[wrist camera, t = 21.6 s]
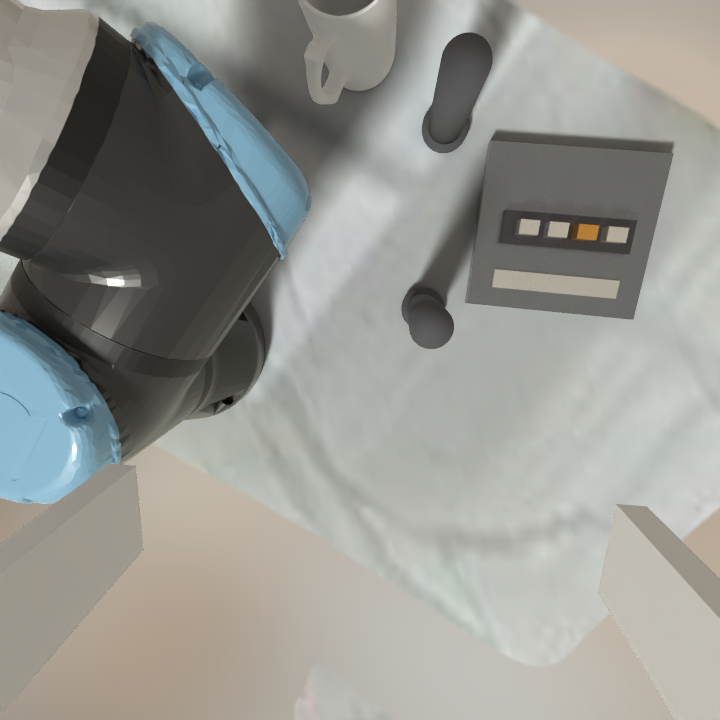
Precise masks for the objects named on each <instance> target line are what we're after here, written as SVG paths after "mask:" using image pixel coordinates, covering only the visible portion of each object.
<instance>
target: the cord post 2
mask: <svg viewBox="0 0 720 720" xmlns="http://www.w3.org/2000/svg"><path fill="white" fill-rule="evenodd" d="M491 66H492V51H491V48H490V46H489V44H488V42H487V41H486V40H485V39H484V38H483V37H482V36H480V35H478V34H475V33H463V34H460V35H458V36H456V37H454V38H453V39H452V40H451V41H450V42H449V43H448V44H447V46H446V47H445V49H444V51H443V54H442V58H441V63H440V68H439V73H438V78H437V83H436V88H435V93H434V98H433V103H432V107H431V108H430V109H429V110H428V111H427V113H426V115H425V117H424V120H423V125H422V135H423V139H424V141H425V143H426V144H427V146H428V147H429V148H430V149H432V150H433V151H436V152H439V153H448V152H451V151H453V150H455V149H457V148H458V147H459V146H460V145H461V144H462V143H463V141H464V139H465V137H466V135H467V133H468V129H469V118H468V117H469V115H470V113H471V111H472V109H473V107H474V104H475V102H476V100H477V98H478V96H479V94H480V91H481V89H482V87H483V85H484V83H485V81H486V78H487V76H488V74H489V72H490V70H491Z"/></svg>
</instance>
